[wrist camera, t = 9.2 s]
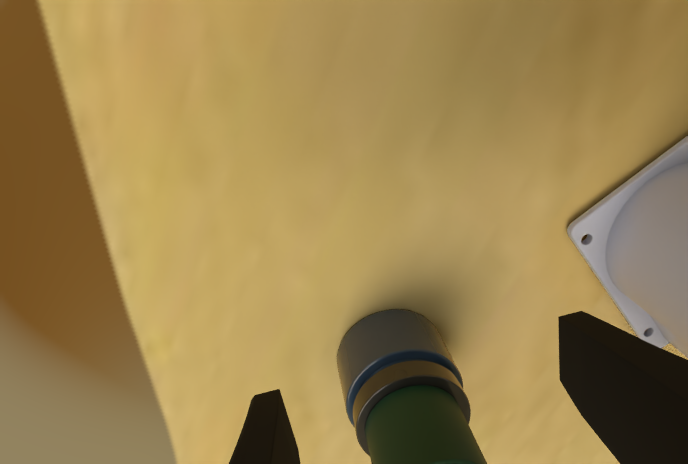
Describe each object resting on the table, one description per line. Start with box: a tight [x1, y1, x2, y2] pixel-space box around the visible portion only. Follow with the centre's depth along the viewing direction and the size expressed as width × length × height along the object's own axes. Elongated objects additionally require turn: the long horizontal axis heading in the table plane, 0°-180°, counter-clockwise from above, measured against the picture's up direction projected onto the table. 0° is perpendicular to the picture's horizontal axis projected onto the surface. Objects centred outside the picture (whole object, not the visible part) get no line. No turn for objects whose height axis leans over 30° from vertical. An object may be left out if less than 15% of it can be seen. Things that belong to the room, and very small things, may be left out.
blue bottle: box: [337, 309, 470, 456], centre depth 23 cm, size 5×5×5 cm
